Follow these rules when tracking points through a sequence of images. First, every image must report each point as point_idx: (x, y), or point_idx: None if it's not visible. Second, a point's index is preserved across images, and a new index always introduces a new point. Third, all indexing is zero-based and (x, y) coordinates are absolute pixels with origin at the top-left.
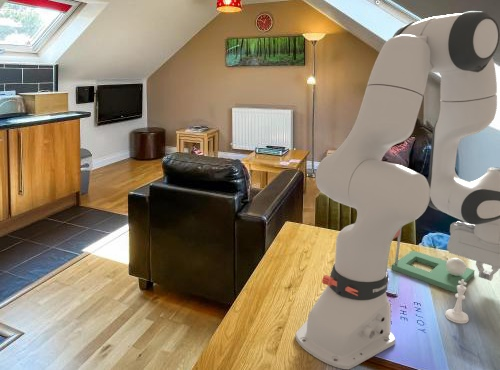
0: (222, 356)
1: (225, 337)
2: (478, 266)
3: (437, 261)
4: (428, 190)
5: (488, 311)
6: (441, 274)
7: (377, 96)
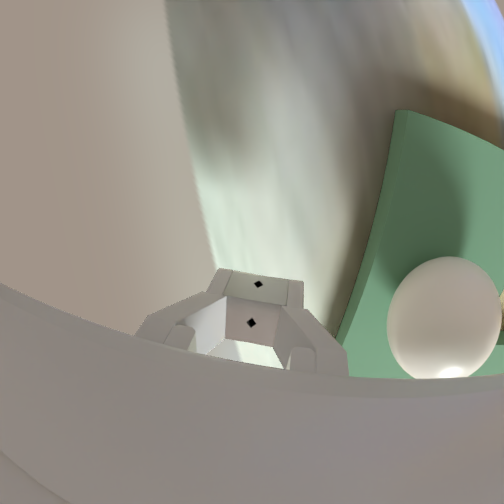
0: None
1: None
2: (318, 339)
3: None
4: None
5: (199, 24)
6: (484, 247)
7: None
